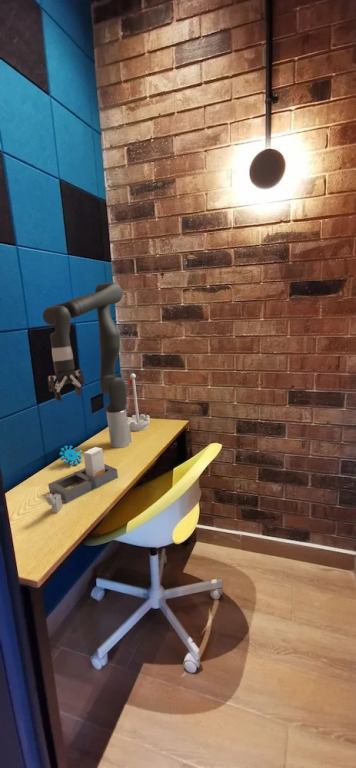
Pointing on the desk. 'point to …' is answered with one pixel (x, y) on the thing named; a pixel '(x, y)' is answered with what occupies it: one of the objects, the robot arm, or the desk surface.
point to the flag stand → (137, 421)
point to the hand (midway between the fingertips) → (69, 398)
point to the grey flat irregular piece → (54, 502)
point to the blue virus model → (70, 455)
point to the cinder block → (81, 483)
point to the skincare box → (94, 462)
